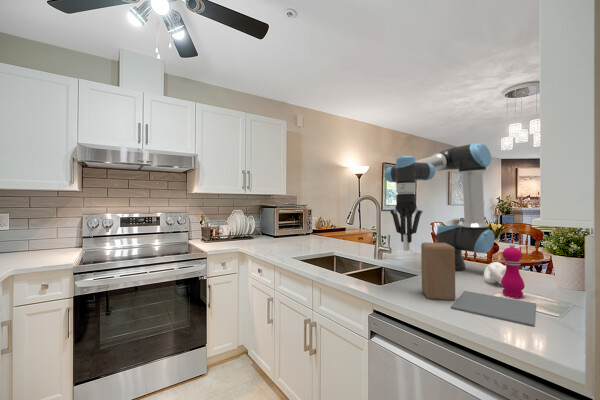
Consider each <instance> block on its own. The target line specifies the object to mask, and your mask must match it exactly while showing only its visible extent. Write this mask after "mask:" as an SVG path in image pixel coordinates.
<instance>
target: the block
mask: <svg viewBox="0 0 600 400" xmlns="http://www.w3.org/2000/svg"><path fill="white" fill-rule="evenodd" d="M420 250H421V253H420V258H421V265H420V266H421V291H422V293H423V294H424V295H425V296H426V298H427V299H429V300H430V299H431V300H447V301H453V300H455V301H456V271H455V248H454V247H453V246H451V245H449V244H447V243H437V242H421V245H420Z"/></svg>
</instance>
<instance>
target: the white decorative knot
mask: <svg viewBox="0 0 600 400" xmlns="http://www.w3.org/2000/svg"><path fill="white" fill-rule="evenodd" d="M505 272H506V264H505V265H504V264H502V263H501V262H500V261H499V262H498V261H495V262H491V263H489V264H488V265H487V266H486V267H485V269H484V271H483V279H484V281H485V282H486V283H488V284H493V285H494V284H496V283H498V284H499V285H501V280H502V278H503V276H504V274H505ZM501 286H502V285H501Z"/></svg>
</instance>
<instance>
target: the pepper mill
mask: <svg viewBox="0 0 600 400" xmlns="http://www.w3.org/2000/svg"><path fill="white" fill-rule="evenodd" d="M508 246H509V247H507V248H504V249H503V251H502V257H503V259H504V264H505V265H506V272H505V274H504V276H503V278H502V280H501V286H502V288H503V289H502V295H503V296H505V297H507V296H509V297H508V298H511V297H514V298H513V299H522V298H521V297H524V292H523V290H524V289H525V282H524V280H523V278H522V276H521V274H520V266H521V261H520V260H521V259H522V258H523V253H522V251H521V250H520V249H519V248H516V245H515V244H514V243H509V245H508Z"/></svg>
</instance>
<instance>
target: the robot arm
mask: <svg viewBox="0 0 600 400" xmlns="http://www.w3.org/2000/svg"><path fill="white" fill-rule="evenodd" d="M491 162H492V154H491V152H490V149H489V148H488V146H487V145H486V144H485V143H482V142H479V143H471V144H465V145H461V146H460V145H459V146H456V147H450V148H447V149H445V150H441V151H439V152H435V153H433V154H432V155H431V156H428V157H424V158H422V159H417V160H416V157H415V156H414V155H403V156H398V157H397V158H396V160H395V165H394V166H389V167H387V168H386V169H385V171H384V178H385V180H386V181H387V182H388V183H396V184H395V189H396V190H395V193H396V195H395V196H396V198H395V199H396V201H395V202H396V205H395V208H394V209H391V210H390V214H391V216H392V219H393V223H394V227H395V230H396V233H398V234H400V238H401V239H400V240H401V243H403V246H402V247H403V251H405V252H408V251H410V243H412V238H413V237H412V235H413V234H417V231H418V227H419V222H420V219H421V215H422V214H423V210H422V209H421V210H420V209H419V208H418V207H417V204H416V203H417V202H416V197H417V195H416V194H415V193H416V181H423V182H424V181H430V180H432V179H433V178H434V177H435V175H436V172H441V171H447V170H448V171H451V170H458V174H460V175H461V176H462V195H463V197H462V198H463V215H464V217H463V219H464V221H463V223H462V224H461V225H460V224H454V225H442V226H441V225H440V226H438V227H437V231H436V241H437V242H436V243H447V244H449V245H451V246H453V247H454V248H455V272H459V271H460V272H461V271H465V270H466V269H467V268H466V263H465V260H464V256H463V254H462V253H463V252H462V251H464V252H465V251H466V252H472V253H476V254H487V253H489V252H490V251H491V250H492V248H493V247H494V243H495V239H496V238H495V234H494V231H493V230H491V229H490V228H489V225H488V224H487V223H486V222H485V205H484V204H485V201H484V182H483V181H484V177H483V174H484V173H485V172H486V171H487V167H488V166H489V165H491ZM398 214H399V215H398ZM413 214H415V215H414V218H413ZM412 218H413V220H412Z"/></svg>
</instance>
